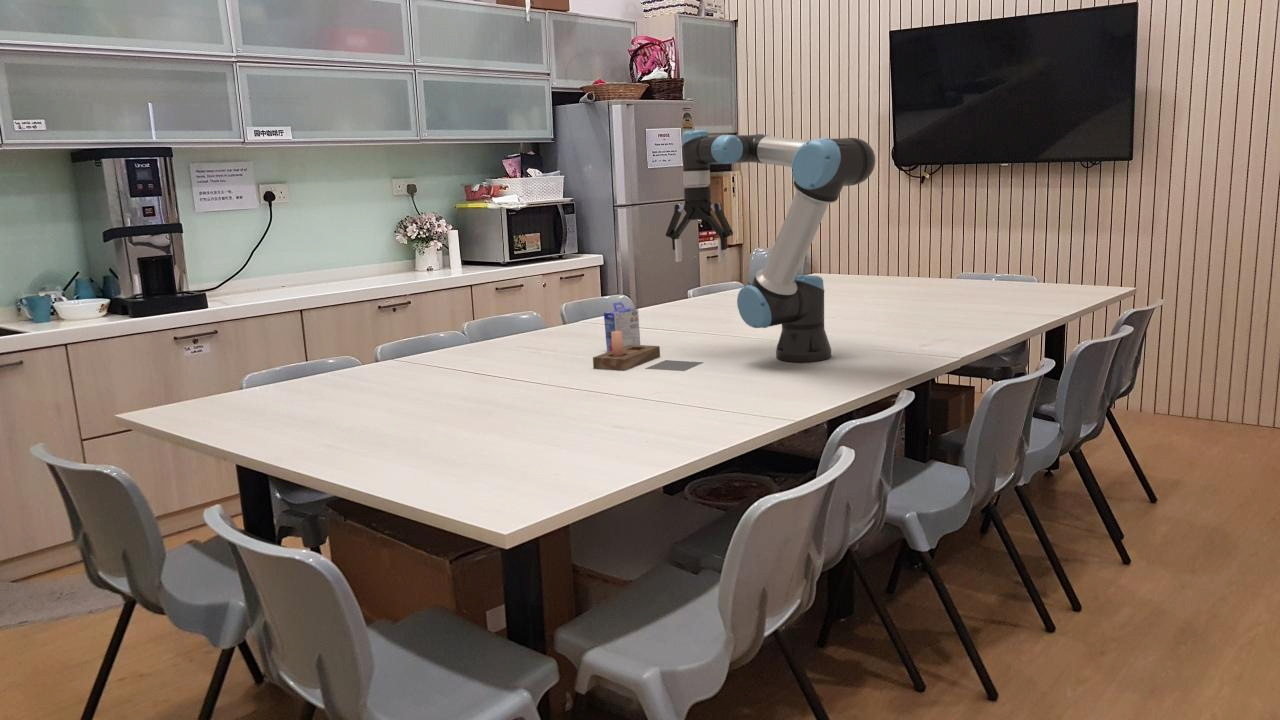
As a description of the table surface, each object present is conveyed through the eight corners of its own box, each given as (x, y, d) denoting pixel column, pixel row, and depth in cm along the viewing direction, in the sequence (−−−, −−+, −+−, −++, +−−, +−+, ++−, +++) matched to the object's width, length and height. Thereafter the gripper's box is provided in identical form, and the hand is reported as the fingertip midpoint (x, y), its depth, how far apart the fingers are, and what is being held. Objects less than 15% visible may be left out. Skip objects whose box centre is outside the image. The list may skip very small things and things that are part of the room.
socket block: (660, 358, 286) (659, 346, 285) (624, 372, 269) (624, 359, 268) (630, 356, 291) (629, 344, 290) (593, 369, 274) (592, 357, 273)
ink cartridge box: (629, 346, 306) (627, 300, 303) (641, 348, 302) (639, 301, 299) (605, 352, 300) (602, 304, 297) (617, 353, 296) (614, 305, 293)
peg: (626, 366, 276) (624, 331, 274) (620, 368, 273) (618, 333, 272) (617, 366, 277) (615, 330, 276) (611, 368, 275) (609, 332, 273)
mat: (704, 363, 274) (703, 362, 274) (684, 372, 264) (684, 371, 264) (665, 361, 280) (665, 360, 280) (644, 369, 270) (644, 368, 270)
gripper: (743, 184, 278) (745, 260, 282) (664, 187, 290) (667, 260, 294) (731, 185, 271) (734, 263, 275) (652, 188, 284) (655, 262, 288)
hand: (700, 261), depth 285 cm, fingers open, 13 cm apart
